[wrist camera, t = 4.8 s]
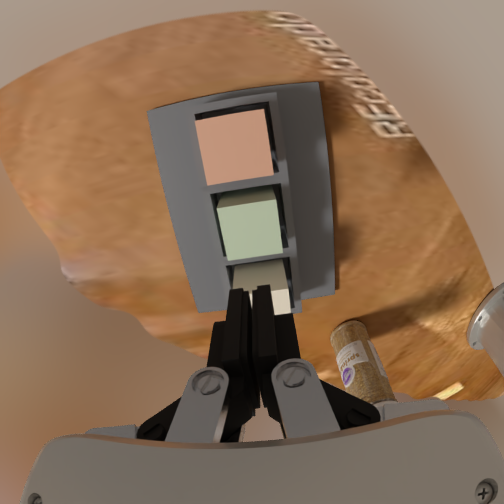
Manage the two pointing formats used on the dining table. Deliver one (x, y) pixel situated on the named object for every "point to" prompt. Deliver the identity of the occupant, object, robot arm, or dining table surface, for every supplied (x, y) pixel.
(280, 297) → the cream button
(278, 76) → the dining table surface
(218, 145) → the terracotta button
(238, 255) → the green button
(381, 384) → the sprinkles bottle
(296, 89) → the button panel
